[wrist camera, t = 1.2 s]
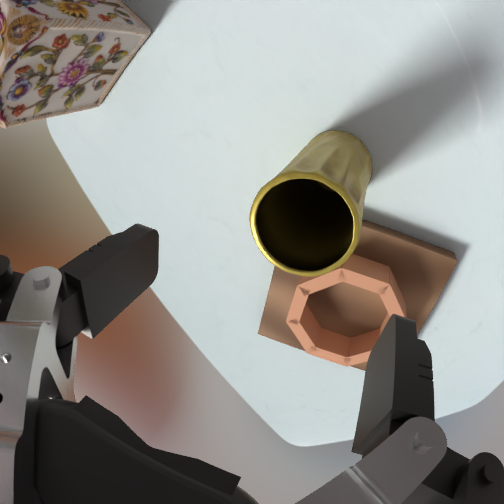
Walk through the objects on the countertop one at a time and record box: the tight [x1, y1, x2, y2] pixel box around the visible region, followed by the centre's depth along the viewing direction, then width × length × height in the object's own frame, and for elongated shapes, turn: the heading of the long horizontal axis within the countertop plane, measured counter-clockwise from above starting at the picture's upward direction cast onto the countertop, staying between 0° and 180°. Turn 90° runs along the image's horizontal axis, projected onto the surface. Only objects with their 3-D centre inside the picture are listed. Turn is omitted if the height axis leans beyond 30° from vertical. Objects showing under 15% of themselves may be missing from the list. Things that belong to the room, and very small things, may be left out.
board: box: [258, 220, 457, 371], centre depth 31 cm, size 16×16×2 cm
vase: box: [249, 131, 372, 277], centre depth 21 cm, size 6×6×14 cm
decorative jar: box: [0, 0, 151, 128], centre depth 21 cm, size 12×12×18 cm
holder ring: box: [286, 254, 407, 366], centre depth 29 cm, size 10×10×3 cm
